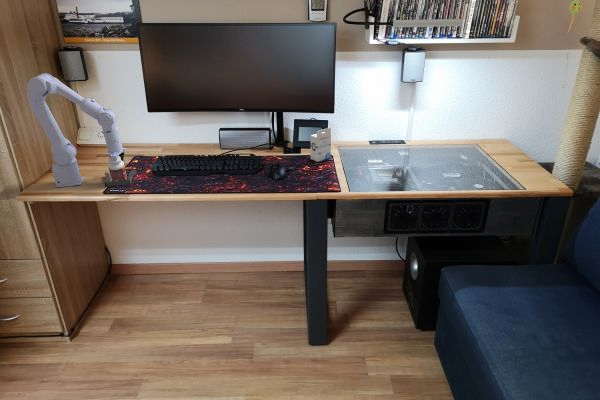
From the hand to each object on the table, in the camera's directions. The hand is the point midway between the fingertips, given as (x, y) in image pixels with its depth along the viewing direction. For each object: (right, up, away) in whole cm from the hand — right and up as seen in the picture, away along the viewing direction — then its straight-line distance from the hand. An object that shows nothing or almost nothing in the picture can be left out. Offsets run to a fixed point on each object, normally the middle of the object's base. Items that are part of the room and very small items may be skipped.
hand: (121, 170), depth 185 cm
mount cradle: (-1, -4, +1) cm, 4 cm away
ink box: (+85, +7, +21) cm, 88 cm away
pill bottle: (0, -4, -1) cm, 4 cm away
